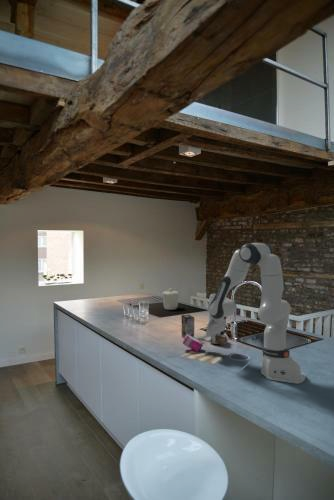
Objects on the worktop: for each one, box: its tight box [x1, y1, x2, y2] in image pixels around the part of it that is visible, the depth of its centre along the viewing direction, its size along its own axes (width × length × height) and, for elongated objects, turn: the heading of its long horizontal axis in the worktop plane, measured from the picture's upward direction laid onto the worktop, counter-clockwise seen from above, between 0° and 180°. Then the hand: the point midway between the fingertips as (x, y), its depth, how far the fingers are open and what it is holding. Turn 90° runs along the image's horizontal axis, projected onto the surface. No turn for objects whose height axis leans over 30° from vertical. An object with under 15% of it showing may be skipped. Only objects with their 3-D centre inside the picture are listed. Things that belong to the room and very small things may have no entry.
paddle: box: [197, 333, 227, 346], centre depth 213 cm, size 17×8×4 cm, turn 63°
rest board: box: [181, 350, 223, 365], centre depth 206 cm, size 22×12×1 cm, turn 55°
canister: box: [161, 287, 180, 311], centre depth 349 cm, size 18×18×21 cm
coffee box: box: [181, 314, 195, 340], centre depth 247 cm, size 9×6×16 cm
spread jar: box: [210, 330, 230, 346], centre depth 235 cm, size 12×11×12 cm
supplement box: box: [182, 334, 204, 353], centre depth 219 cm, size 6×6×12 cm
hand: (216, 340), depth 213 cm, fingers closed on paddle, 3 cm apart
